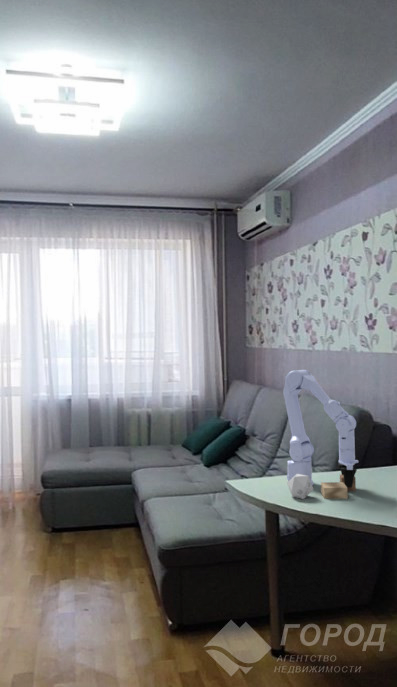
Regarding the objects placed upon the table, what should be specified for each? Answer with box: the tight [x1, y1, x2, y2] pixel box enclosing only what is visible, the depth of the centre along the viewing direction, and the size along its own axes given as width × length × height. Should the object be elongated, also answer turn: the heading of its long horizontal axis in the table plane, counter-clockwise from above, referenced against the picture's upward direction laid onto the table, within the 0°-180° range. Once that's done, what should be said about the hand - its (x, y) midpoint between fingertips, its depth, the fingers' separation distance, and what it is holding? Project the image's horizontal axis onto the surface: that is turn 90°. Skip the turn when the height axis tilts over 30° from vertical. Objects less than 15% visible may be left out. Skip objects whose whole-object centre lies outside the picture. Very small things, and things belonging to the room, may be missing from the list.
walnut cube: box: [339, 474, 357, 492], centre depth 210 cm, size 5×5×5 cm
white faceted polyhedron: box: [286, 474, 314, 500], centre depth 201 cm, size 8×9×10 cm
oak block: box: [320, 481, 349, 500], centre depth 202 cm, size 8×8×4 cm
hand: (347, 485), depth 210 cm, fingers closed on walnut cube, 5 cm apart
